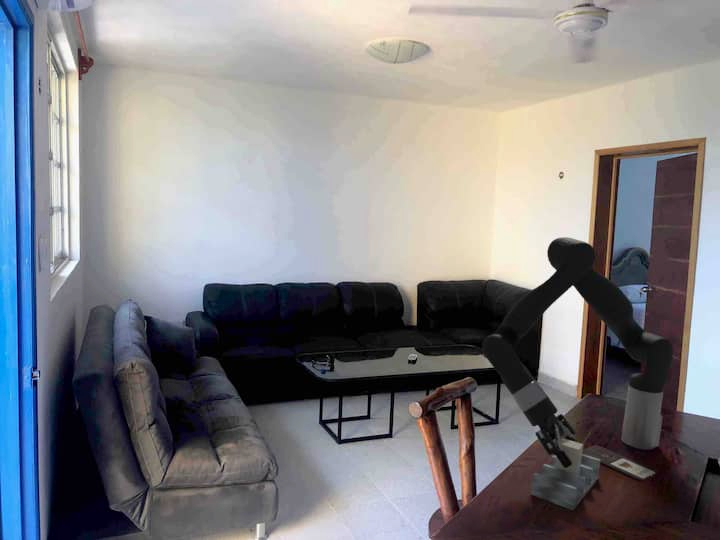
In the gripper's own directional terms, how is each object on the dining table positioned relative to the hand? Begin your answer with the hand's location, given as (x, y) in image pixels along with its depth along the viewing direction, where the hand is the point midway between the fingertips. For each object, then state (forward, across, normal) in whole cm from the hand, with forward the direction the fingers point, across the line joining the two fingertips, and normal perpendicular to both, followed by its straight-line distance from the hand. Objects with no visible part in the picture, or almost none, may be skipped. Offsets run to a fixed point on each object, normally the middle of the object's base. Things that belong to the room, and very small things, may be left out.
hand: (574, 460), depth 144 cm
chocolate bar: (+9, +23, +2) cm, 25 cm away
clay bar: (+3, 0, +5) cm, 6 cm away
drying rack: (+4, 0, +6) cm, 8 cm away
